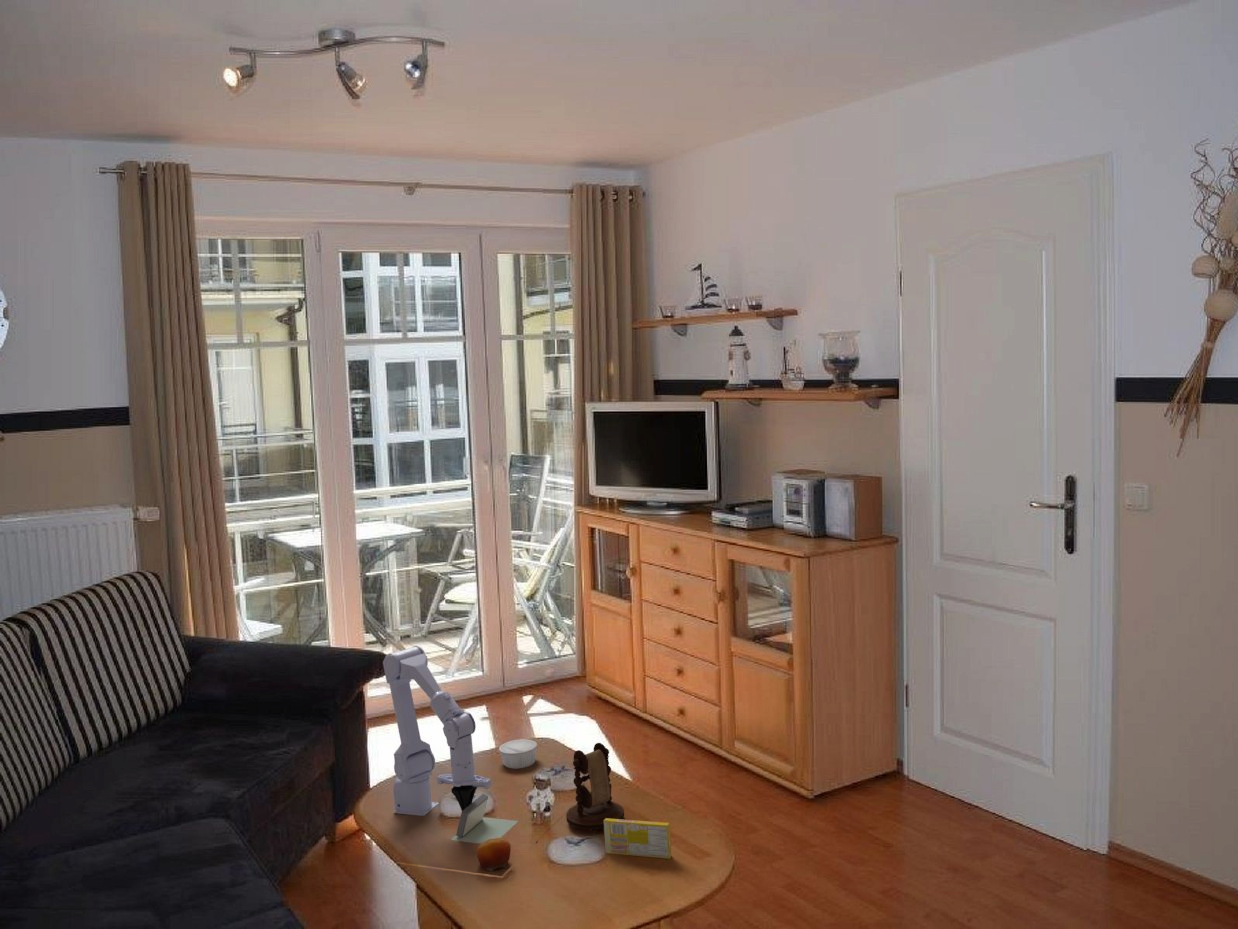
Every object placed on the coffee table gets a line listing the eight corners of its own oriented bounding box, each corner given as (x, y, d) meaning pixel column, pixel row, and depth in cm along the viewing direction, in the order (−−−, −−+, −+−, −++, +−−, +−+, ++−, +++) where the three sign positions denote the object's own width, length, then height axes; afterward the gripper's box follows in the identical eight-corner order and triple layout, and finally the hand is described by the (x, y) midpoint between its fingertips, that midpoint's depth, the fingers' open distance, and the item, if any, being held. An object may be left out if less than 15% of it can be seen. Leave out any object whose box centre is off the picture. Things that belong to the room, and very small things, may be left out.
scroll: (592, 840, 279) (586, 762, 277) (555, 823, 290) (549, 748, 288) (636, 820, 289) (631, 745, 287) (599, 805, 300) (593, 732, 298)
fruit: (488, 875, 262) (479, 840, 265) (479, 880, 268) (470, 846, 271) (520, 865, 266) (511, 831, 268) (510, 870, 272) (502, 837, 275)
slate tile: (455, 835, 285) (461, 811, 283) (477, 817, 295) (483, 793, 293) (461, 838, 284) (467, 814, 283) (483, 820, 295) (488, 796, 293)
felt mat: (450, 841, 284) (450, 840, 284) (477, 818, 297) (477, 816, 297) (492, 846, 280) (492, 845, 279) (518, 822, 292) (518, 821, 292)
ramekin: (495, 770, 329) (494, 753, 328) (505, 756, 340) (504, 739, 339) (533, 770, 327) (532, 753, 326) (542, 756, 338) (541, 739, 337)
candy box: (672, 855, 269) (670, 822, 268) (669, 860, 267) (667, 826, 266) (608, 849, 274) (605, 817, 273) (605, 853, 272) (602, 820, 271)
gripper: (429, 765, 287) (433, 816, 289) (479, 769, 281) (484, 822, 283) (443, 754, 293) (448, 805, 295) (493, 759, 288) (497, 810, 290)
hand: (466, 812), depth 289 cm, fingers closed
